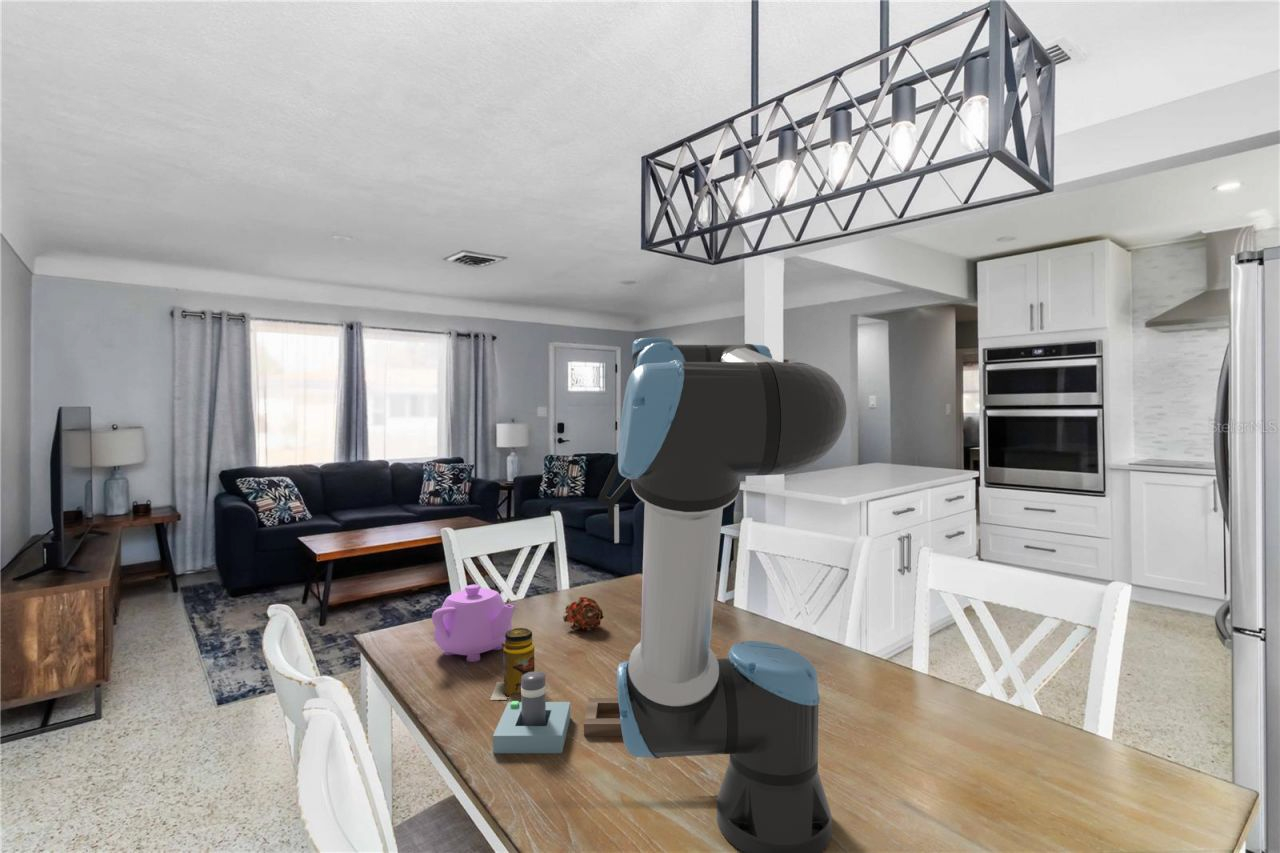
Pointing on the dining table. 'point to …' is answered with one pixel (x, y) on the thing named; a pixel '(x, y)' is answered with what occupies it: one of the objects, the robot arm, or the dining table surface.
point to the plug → (533, 699)
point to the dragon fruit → (584, 614)
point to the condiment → (515, 662)
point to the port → (532, 730)
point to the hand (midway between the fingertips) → (654, 541)
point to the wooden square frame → (602, 717)
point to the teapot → (472, 622)
